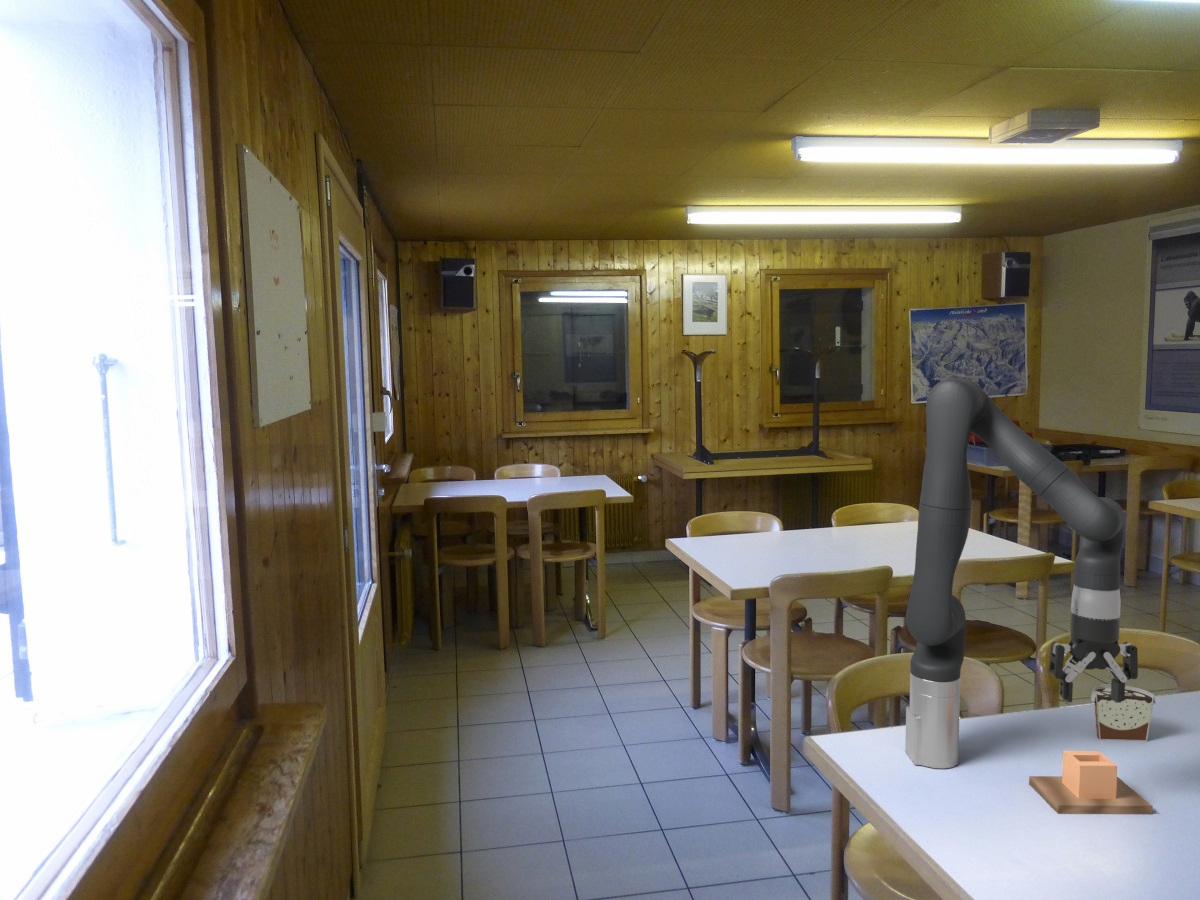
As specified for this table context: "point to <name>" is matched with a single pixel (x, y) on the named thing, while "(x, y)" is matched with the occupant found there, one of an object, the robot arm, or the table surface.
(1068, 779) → the orange open box
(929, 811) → the table surface
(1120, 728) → the food container
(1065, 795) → the base board
